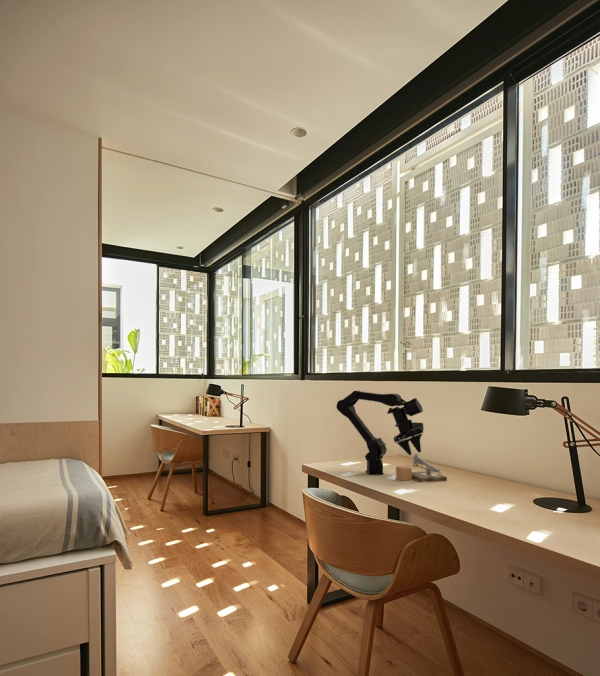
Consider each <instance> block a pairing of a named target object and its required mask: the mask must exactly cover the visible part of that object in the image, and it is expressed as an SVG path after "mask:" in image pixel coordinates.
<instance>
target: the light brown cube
mask: <svg viewBox="0 0 600 676" xmlns="http://www.w3.org/2000/svg"><path fill="white" fill-rule="evenodd" d="M412 472H413V469H412V467H410V466H407V465H401V466H399V465H398V466H395V479H397V478H398V479H397V480H399V479H400V480H399V481H401V480H402V481H412V480H413V479H412Z"/></svg>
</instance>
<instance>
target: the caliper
mask: <svg viewBox="0 0 600 676" xmlns="http://www.w3.org/2000/svg"><path fill="white" fill-rule="evenodd" d="M412 461H413V462H412V463H413V464H416V465H418V466H419V464H420V465H421V466H422V465H423V466H425V467H426V465H431V471H432V470H433V472H434V471H435V472H436V471H437V472H436V473H440V472H442V471H441V469H440V468H438V467H436V466H434V465H432V464H431V463H428V462H427V461H425V460H424V459H423V458H421V457H420V456H419V454H418V453H414V454H413V458H412Z"/></svg>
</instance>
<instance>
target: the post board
mask: <svg viewBox="0 0 600 676" xmlns="http://www.w3.org/2000/svg"><path fill="white" fill-rule="evenodd" d="M431 465H432V464H431ZM431 465H426V466H425V467H426V470H425V471H412V478H413V479H412V480H414V479H415V480H414V481H416V480H417V482H418V481H419V482H418V483H423V481H430V482H443V481H442V480H447V481H448V477H447V476H445V475H442V474H439V473H438V472H436V471H435V472H434V471H432V469H431Z"/></svg>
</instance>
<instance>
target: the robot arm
mask: <svg viewBox="0 0 600 676" xmlns="http://www.w3.org/2000/svg"><path fill="white" fill-rule="evenodd" d="M359 400H363V401H369V402H370V401H371V402H377V403H381V404H383V405H384V406H385V405H386V406H388V407H389V408H388V410H387V412H386V413H387V414H388V415H389V414H392V417H393V419H394V421H395V428H397V430H398V431H399V433H398V434H397V435H395V436H394V435H393V442H394V443H395V444H397V445H398V446H399V447H400V448H401V449H402V450H403V451H404V452H406V454H407V455H408V456H411V455H412V450H411V447H410V443H411V444H412V446H413V447H414V448H415V450H416V452H418V453H421V452H422V448H421V438H422V436H423V433H424V431H425V430H424V422H413V421H412V419H409V418H408V416H409V417H413V416H416V415H418V414H421V413H423V412H424V411H423V410H424V409H423V407H422V404H421V403H420V402H419V400H418V398H416V397H415V398H412V399H411V400H409V401H406V400H405V399H403V398H402V396H401V395H400V394H398V393H374V392H367V391H361V390H353V391H352V392H351V393H350V394H349V395H346V397H344V398H343V399H340V400H338V401H337V403H336V410H337V411H338V412H339V413H340V414H341V415H343V416H344V417H346V418H347V419H348V420H349V421H350V423H351V424H352V425H353V427H354V428H355V430H356V431H357V432H358V433H359V435H360V436H361V437H362V439H363V440H364V442H365V444H366V446H367V449H368V452H367V453H366V454H365V455H364V458H365V460H366V470H365V473H367V474H369V475H384V462H383V460H382V459H383V457H384V456H385V455H386V453H387V450H388V449H387V446H386V445H387V444H386V443H384V441H383V438H381V437H378V438H376V437H375V436H374V434H372V432H371V431H370V430H369V427H367V425H366V424H365V423H364V421H363V420H362V419H361V418H360V416H359V415H358V413H357V411H356V408H355V405H356V404H358V403H357V402H358V401H359ZM393 407H394V408H393ZM409 442H410V443H409Z"/></svg>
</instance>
